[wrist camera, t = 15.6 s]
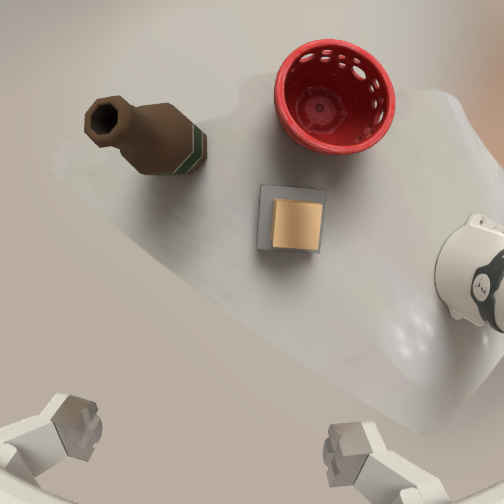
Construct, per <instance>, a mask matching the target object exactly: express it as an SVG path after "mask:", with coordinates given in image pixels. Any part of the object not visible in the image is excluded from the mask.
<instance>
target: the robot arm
mask: <svg viewBox="0 0 504 504" xmlns="http://www.w3.org/2000/svg"><path fill="white" fill-rule="evenodd" d="M480 221H481V223H480ZM435 282H436V288H437V291H438V294H439V296H440V297H441V299H442V300H443V301H444V302H445V303H446V304H447V306H448V308H449V312H450V315H451V317H452V318H453V319H455V320H460V319H464V318H465V319H467V320H468V321H470V322H472V323H473V324H475V325H477V326H479V327H482V326H484V325H489V326H490V327H491V328H493V329H494V330H496V331H499V332H500V333H504V227H503V226H502V225H500V224H498V223H496V222H494V221H492V220H491V219H489V218H487V217H485V216H483V215H481V214H479V213H476V212H474V213H472V214H471V216H470V217H469V218H468V220H467V222H466V223H465V225H464V226H463V227H461V228H460V229H458V230H457V231H456V232H454V233H453V234H452V235H451V236H450V238H449V239H448V240H447V241H446V243H445V244H444V246H443V248H442V250H441V252H440V255H439V258H438V261H437V265H436V272H435ZM97 411H98V408H97V405H96V403H95V402H93V401H89V400H85V399H82V398H79V397H76V396H72V395H68V394H65V393H62V392H58V393H57V394H56V395H55V396H54V397H53V398H52V400H51V401H50V402H49V404H48V405H47V406H46V407H45V409H44V410H43V411H42V412H41V413H40V415H39V416H36V415H35V416H32V417H29V418H27V419H24V420H21V421H18V422H16V423H13V424H10V425H7V426H5V427H2V428H0V504H78V503H75V502H72V501H70V500H67V499H64V498H62V497H60V496H57V495H55V494H53V493H50V492H48V491H46V490H43V489H41V487H40V486H39V484H38V483H37V481H36V480H35V477H36V476H38V475H40V474H41V473H43V472H45V471H46V470H48V469H49V468H51V467H53V466H54V465H56V464H58V463H59V462H61V461H62V460H64V459H65V458H67V457H68V456H70V457H74V458H76V459H80V460H83V461H86V462H88V460H89V459H90V457H91V455H92V453H93V451H94V448H93V444H94V443H97V442H99V439H100V437H101V434H102V422H101V419H100V417H99V416H98V415H97V414H96V413H97ZM328 434H329V438H327V439H326V440H325V443H324V447H323V459H324V464H325V465H326V466H328V467H329V469H328V471H327V477H328V482H329V486H330V487H338V486H348V485H353V486H354V487H355V488H356V489H357V490H358V491H359V492H360V493H361V494H362V495H363V496H364V497H365V498H366V499H368V500H369V501H370V502H371V503H372V504H504V480H502V481H500V482H498V483H496V484H494V485H492V486H490V487H488V488H486V489H483V490H481V491H479V492H477V493H474V494H472V495H470V496H467V497H465V498H462V499H460V500H458V501H455V502H452V503H451V501H450V499H449V497H448V495H447V493H446V492H445V490H444V488H443V486H442V484H441V482H440V480H439V479H438V478H436V477H435V476H433V475H431V474H429V473H428V472H426V471H424V470H422V469H421V468H419V467H417V466H416V465H414V464H412V463H410V462H409V461H407V460H406V459H404V458H402V457H401V456H399V455H398V454H396V453H394V452H393V451H387V449H386V446H385V444H384V442H383V440H382V438H381V436H380V433H379V431H378V429H377V427H376V425H375V423H374V422H373V421H363V422H353V423H340V424H331V425H330V427H329V430H328Z"/></svg>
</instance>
